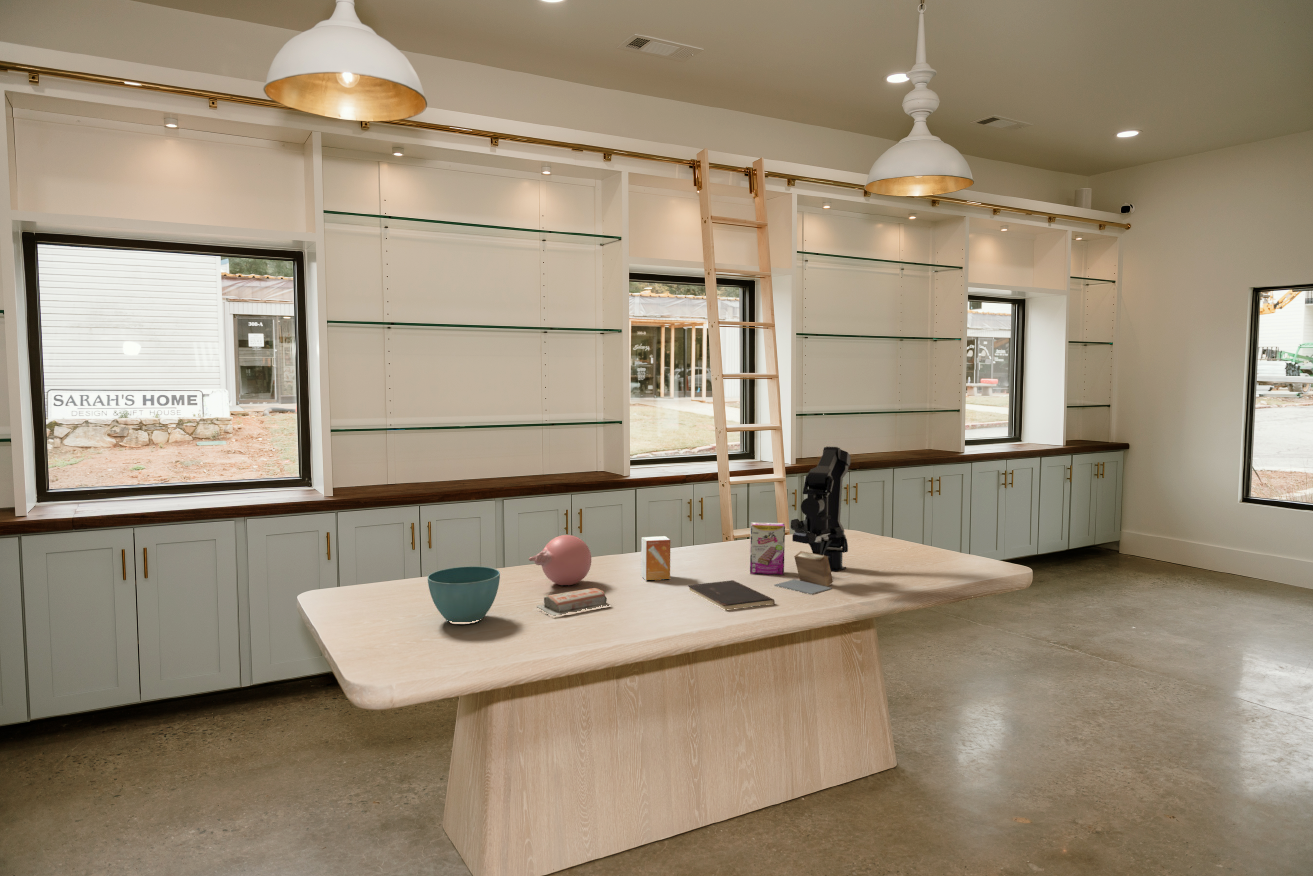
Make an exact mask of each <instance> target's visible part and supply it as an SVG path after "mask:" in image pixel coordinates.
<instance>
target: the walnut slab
mask: <svg viewBox="0 0 1313 876" xmlns="http://www.w3.org/2000/svg"><path fill="white" fill-rule="evenodd" d="M794 561H795V566H796V570H797V573H798V577H799V578H798V580H800V581H804V582H808V583H813V584H817V585H822V586H826V587H830V585H832V584H833V583H834V579H833V576H832V571H831V570H830V565H829V561H828V556H824V555H819V554H814V553H813V552H809V551H804V550H803V551H802V550H800V551H799V552H798V553H796V554H795V555H794Z"/></svg>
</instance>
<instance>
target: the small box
mask: <svg viewBox="0 0 1313 876" xmlns="http://www.w3.org/2000/svg"><path fill="white" fill-rule="evenodd" d="M640 554H641V558H640V560H641V561H640V562H641V564H640V565H641V566H640V567H641V568H640V570H641V575H640V576H642V577H643V578H644V579H645V580H655V581H662V580H661V579H670V580H671V539H670V538H668V537H667V536H666V535H663V536H662V535H661V536H659V535H657V536H643V537H642V536H641V553H640ZM642 577H641V578H642ZM643 578H642V579H643ZM644 579H643V580H644ZM645 580H644V581H645Z"/></svg>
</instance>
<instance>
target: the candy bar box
mask: <svg viewBox="0 0 1313 876" xmlns="http://www.w3.org/2000/svg"><path fill="white" fill-rule="evenodd" d="M785 525H786V524H785V523H784V522H756V521H751V522H750V539H749V540H750V543H749V544H750V545H749V546H750V547H749V548H750V549H749V572H750V573H749V574H751V575H774V574H775V575H778V576H779V575H780V576H783V575H785V546H786V545H785V541H786V539H785V537H786V526H785Z"/></svg>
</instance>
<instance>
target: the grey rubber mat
mask: <svg viewBox="0 0 1313 876" xmlns="http://www.w3.org/2000/svg"><path fill="white" fill-rule="evenodd" d="M773 585H774V586H775V587H778V586H779V587H778V588H782V587H783V589H786V588H787V590H790V589H791V591H794V590H795V592H798V591H800V592H799V593H803V592H804V593H803V594H807V593H808V595H811V594H812V595H815V594H814V593H816V594H818V592H819V593H821V592H822V591H823V592H825V591H830V590H832V589H833V587H830V586H828V587H826V586H822V585H817V584H813V583H808V582H804V581H800V579H791V580H788V581H783V582H778V583H776V584H773Z"/></svg>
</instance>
